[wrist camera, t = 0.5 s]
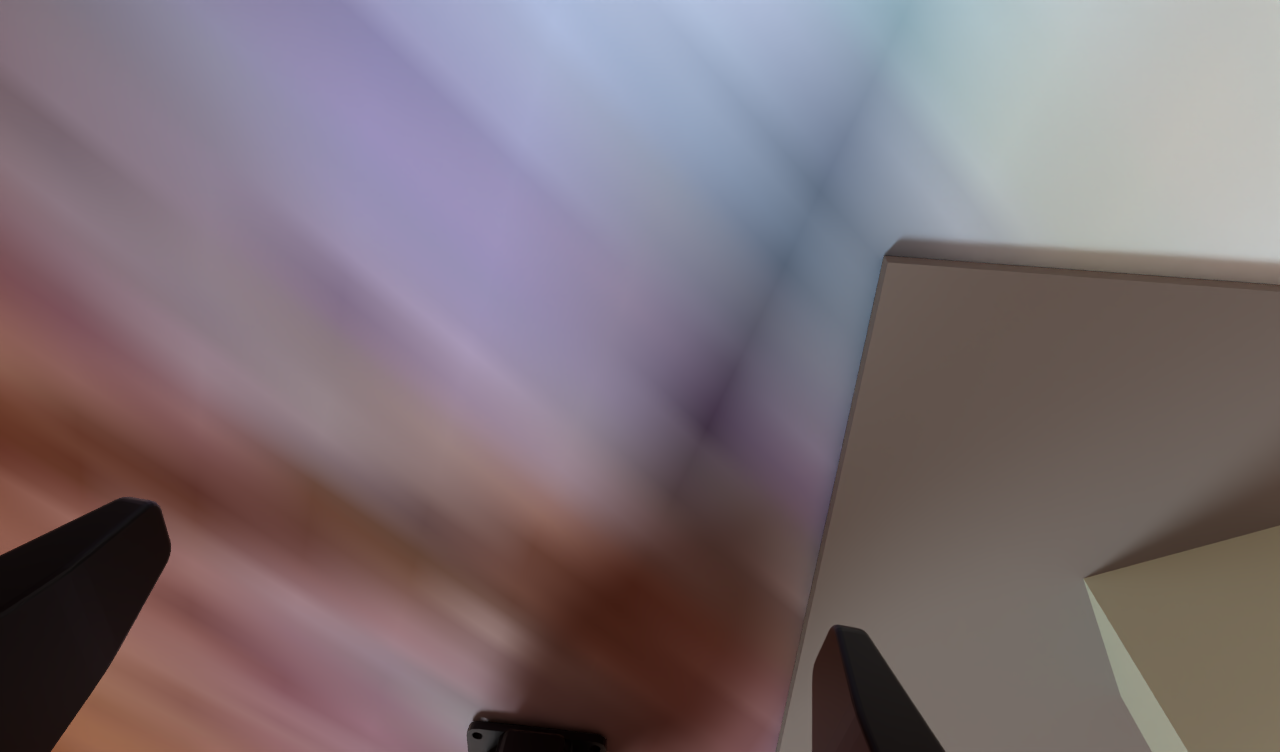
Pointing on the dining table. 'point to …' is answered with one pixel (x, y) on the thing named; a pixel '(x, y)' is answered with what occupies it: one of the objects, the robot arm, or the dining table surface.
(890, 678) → the robot arm
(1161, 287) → the mat
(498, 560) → the dining table surface
